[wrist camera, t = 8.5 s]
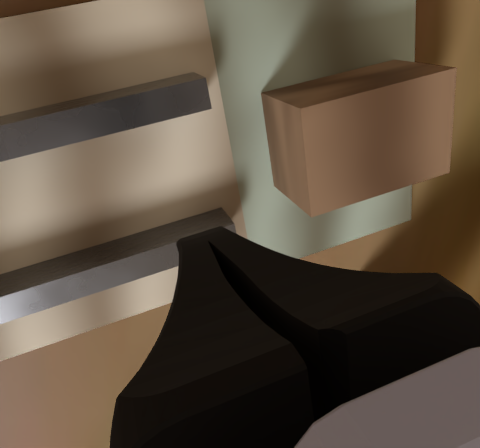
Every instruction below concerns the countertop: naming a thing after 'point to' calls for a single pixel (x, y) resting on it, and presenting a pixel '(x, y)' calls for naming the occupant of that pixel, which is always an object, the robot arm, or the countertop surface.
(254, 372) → the robot arm
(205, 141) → the chute board
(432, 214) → the countertop surface
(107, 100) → the channel rails
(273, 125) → the walnut block
